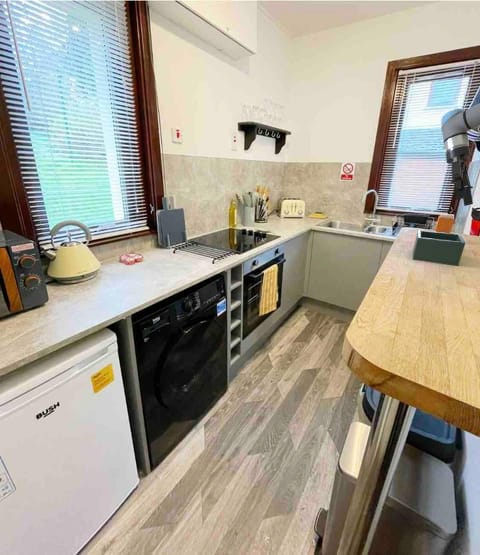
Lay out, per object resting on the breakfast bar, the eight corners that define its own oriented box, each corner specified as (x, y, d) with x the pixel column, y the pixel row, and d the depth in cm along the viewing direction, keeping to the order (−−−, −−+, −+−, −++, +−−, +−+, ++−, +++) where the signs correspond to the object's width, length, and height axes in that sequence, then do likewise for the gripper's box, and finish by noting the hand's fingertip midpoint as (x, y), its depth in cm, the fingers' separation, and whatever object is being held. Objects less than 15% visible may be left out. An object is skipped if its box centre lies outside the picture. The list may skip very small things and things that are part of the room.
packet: (446, 241, 115) (454, 214, 110) (447, 243, 111) (455, 215, 107) (432, 239, 117) (439, 213, 113) (432, 241, 114) (440, 214, 110)
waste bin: (454, 255, 97) (460, 234, 94) (458, 265, 87) (465, 242, 84) (413, 250, 103) (418, 230, 100) (412, 259, 93) (418, 237, 90)
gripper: (452, 162, 120) (460, 209, 118) (437, 144, 103) (445, 199, 101) (475, 155, 114) (483, 204, 112) (462, 134, 98) (471, 192, 96)
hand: (465, 202), depth 107 cm, fingers open, 13 cm apart
